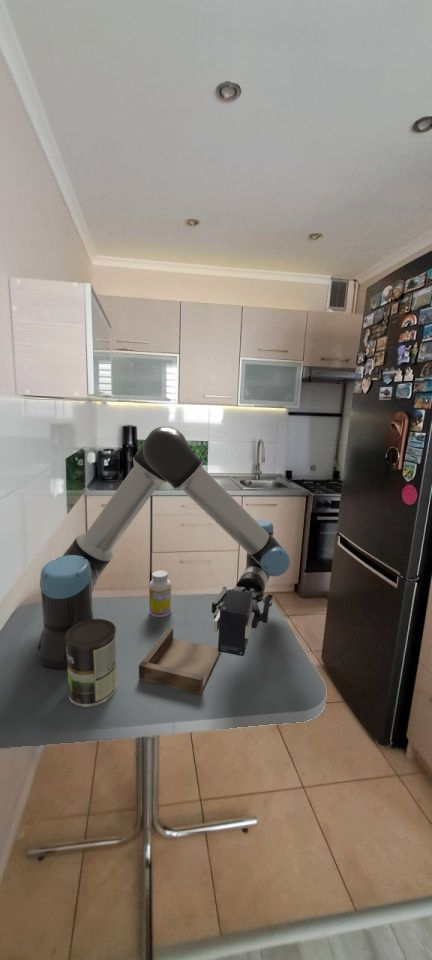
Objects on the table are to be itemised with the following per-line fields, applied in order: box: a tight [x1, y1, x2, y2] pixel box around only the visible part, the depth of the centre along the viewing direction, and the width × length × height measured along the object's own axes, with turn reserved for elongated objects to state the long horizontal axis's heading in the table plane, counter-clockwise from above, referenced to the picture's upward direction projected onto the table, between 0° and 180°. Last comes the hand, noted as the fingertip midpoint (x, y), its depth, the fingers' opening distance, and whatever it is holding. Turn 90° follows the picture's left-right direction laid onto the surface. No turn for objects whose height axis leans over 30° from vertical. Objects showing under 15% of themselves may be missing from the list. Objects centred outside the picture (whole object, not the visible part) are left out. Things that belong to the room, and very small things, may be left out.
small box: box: [217, 589, 253, 657], centre depth 86 cm, size 11×6×10 cm, turn 167°
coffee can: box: [65, 618, 118, 708], centre depth 80 cm, size 10×10×14 cm
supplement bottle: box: [148, 569, 172, 618], centre depth 112 cm, size 7×7×13 cm
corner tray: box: [138, 627, 221, 696], centre depth 89 cm, size 15×16×4 cm
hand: (230, 629), depth 81 cm, fingers closed on small box, 6 cm apart
